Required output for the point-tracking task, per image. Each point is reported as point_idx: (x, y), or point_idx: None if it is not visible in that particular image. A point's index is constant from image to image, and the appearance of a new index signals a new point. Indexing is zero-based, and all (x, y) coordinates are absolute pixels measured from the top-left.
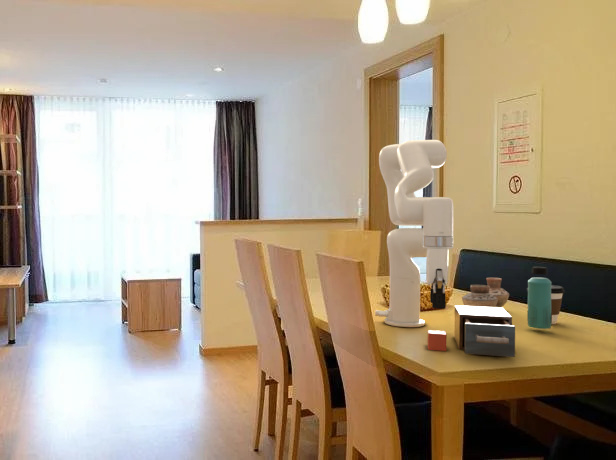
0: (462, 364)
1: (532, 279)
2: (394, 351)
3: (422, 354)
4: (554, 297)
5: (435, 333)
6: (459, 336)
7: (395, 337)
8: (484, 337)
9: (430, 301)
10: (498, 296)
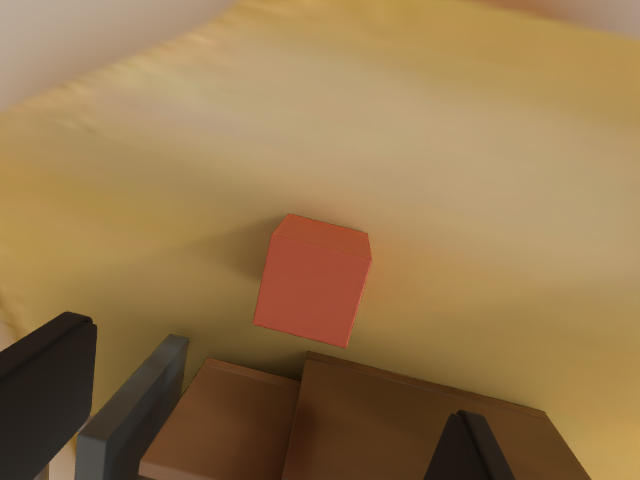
0: (60, 275)
1: None
2: (235, 20)
3: (194, 157)
4: None
5: (270, 273)
6: (301, 388)
7: (586, 109)
8: None
9: (466, 414)
10: None
